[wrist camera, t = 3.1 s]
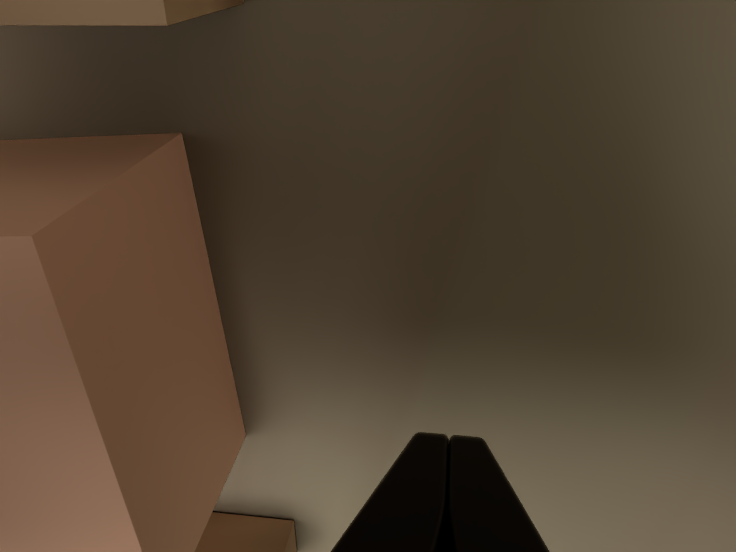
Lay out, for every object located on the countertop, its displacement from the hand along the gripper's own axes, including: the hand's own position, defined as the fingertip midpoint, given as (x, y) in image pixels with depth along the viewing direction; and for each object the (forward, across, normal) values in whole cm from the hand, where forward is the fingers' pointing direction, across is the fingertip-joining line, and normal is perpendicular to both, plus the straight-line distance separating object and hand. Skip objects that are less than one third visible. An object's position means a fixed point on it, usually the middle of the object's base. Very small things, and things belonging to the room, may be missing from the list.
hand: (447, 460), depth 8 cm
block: (+3, +7, 0) cm, 8 cm away
